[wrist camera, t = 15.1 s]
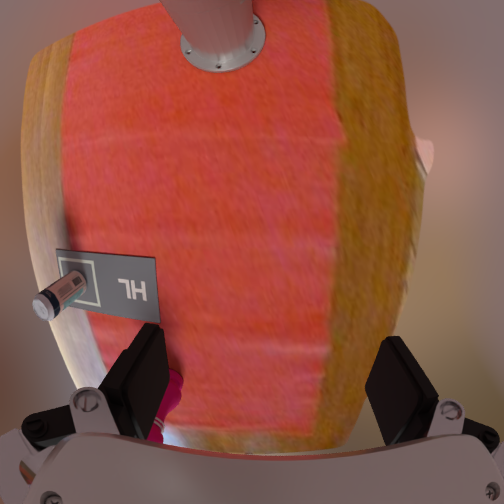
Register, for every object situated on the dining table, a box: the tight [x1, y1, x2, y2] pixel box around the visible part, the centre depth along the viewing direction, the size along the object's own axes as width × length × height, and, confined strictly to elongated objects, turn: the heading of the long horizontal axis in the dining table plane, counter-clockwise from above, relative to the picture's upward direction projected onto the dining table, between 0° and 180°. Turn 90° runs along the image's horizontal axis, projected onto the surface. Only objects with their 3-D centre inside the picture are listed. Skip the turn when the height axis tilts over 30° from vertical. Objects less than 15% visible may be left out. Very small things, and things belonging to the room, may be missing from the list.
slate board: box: [56, 249, 161, 323], centre depth 44 cm, size 12×22×1 cm, turn 87°
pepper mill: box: [143, 369, 183, 444], centre depth 40 cm, size 7×7×20 cm
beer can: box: [33, 271, 87, 321], centre depth 38 cm, size 5×5×12 cm
